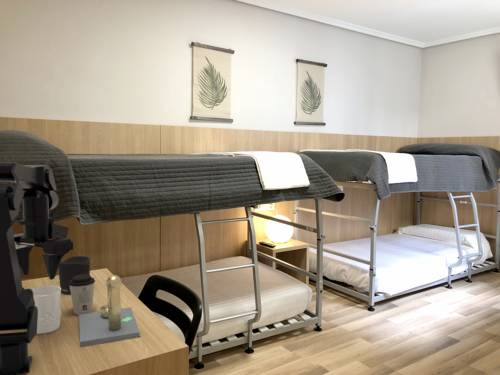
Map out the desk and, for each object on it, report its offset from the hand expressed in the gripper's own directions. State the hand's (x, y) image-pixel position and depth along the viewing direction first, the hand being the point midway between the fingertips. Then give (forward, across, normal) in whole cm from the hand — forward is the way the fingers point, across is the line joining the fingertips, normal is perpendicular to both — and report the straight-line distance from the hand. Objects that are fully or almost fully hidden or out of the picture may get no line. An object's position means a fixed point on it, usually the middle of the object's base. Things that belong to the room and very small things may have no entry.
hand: (38, 277), depth 106 cm
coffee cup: (+14, -1, -13) cm, 19 cm away
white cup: (+14, 0, -1) cm, 14 cm away
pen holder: (+13, +15, -25) cm, 32 cm away
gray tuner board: (+14, -15, -8) cm, 21 cm away
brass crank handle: (+12, -15, -9) cm, 21 cm away
